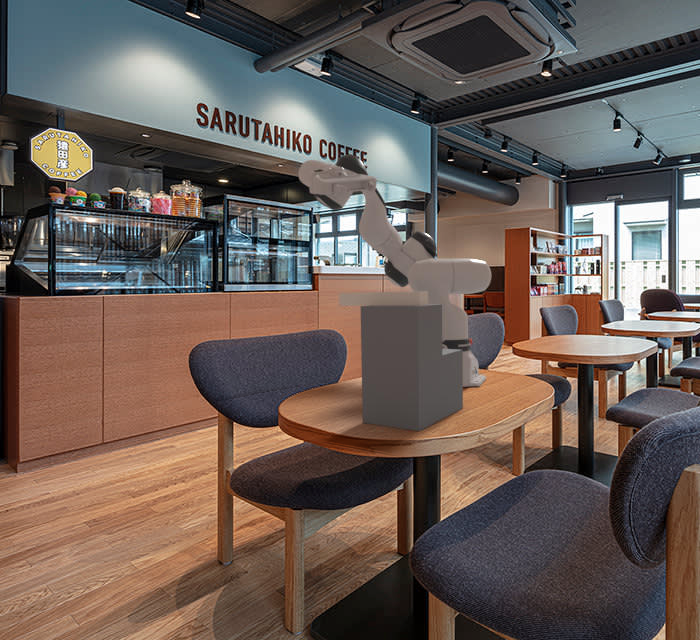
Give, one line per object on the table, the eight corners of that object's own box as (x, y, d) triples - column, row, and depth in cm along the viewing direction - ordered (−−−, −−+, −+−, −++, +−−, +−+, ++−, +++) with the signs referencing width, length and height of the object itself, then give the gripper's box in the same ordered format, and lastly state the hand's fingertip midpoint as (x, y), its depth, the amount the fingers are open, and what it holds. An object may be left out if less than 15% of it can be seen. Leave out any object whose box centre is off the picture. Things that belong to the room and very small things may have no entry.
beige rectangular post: (349, 305, 123) (348, 292, 123) (428, 304, 111) (427, 291, 111) (339, 305, 120) (339, 292, 119) (419, 305, 108) (419, 291, 108)
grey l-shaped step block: (412, 402, 133) (410, 303, 131) (462, 408, 125) (462, 302, 124) (362, 422, 113) (360, 306, 112) (419, 431, 105) (417, 306, 104)
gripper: (359, 188, 162) (387, 197, 152) (305, 193, 150) (331, 203, 140) (361, 167, 159) (389, 175, 149) (305, 171, 148) (332, 180, 138)
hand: (361, 189), depth 145 cm, fingers open, 8 cm apart
